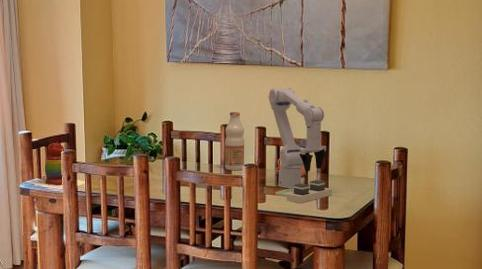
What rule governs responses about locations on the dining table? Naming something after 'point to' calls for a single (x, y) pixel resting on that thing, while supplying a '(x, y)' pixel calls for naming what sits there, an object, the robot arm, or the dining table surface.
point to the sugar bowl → (282, 165)
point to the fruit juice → (234, 143)
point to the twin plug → (317, 185)
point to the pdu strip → (309, 196)
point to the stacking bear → (54, 164)
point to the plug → (301, 189)
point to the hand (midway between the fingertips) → (313, 169)
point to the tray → (284, 192)
